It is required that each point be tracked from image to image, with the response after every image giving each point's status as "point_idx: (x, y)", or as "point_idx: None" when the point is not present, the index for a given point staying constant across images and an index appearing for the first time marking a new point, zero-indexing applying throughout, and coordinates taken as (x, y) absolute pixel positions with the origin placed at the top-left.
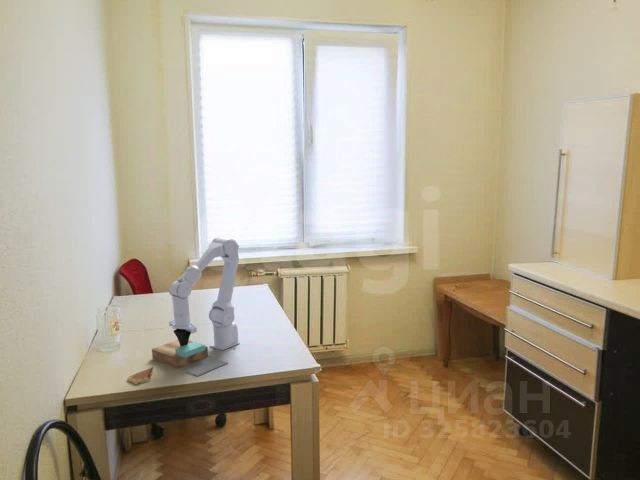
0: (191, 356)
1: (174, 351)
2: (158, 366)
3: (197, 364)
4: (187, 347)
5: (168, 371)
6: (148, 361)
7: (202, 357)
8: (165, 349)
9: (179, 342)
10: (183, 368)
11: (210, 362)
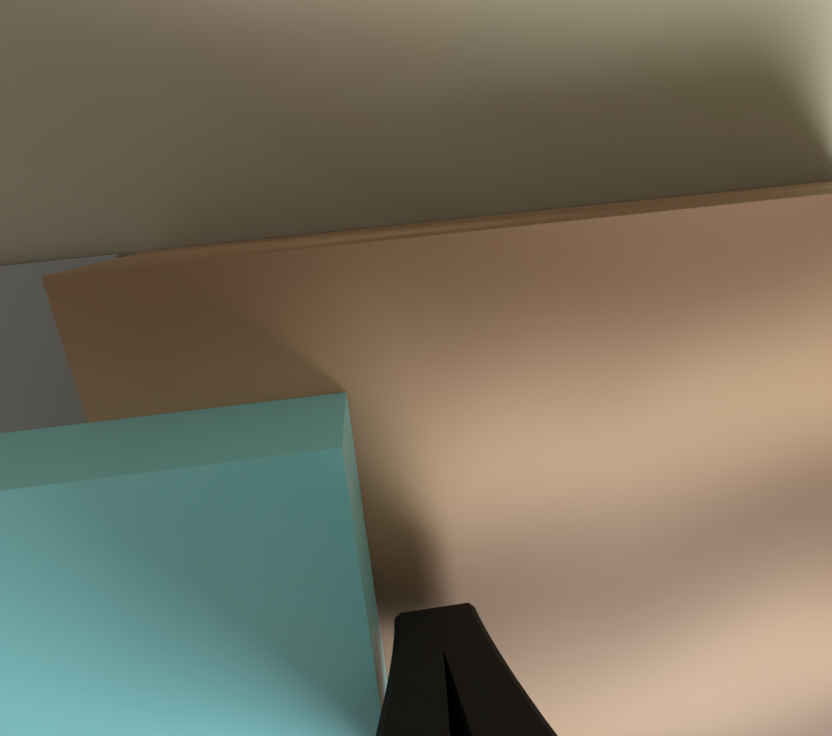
0: None
1: (498, 443)
2: (500, 75)
3: None
4: (187, 696)
5: (154, 79)
6: (823, 72)
7: None
8: (757, 367)
9: (507, 698)
10: (40, 309)
11: None
